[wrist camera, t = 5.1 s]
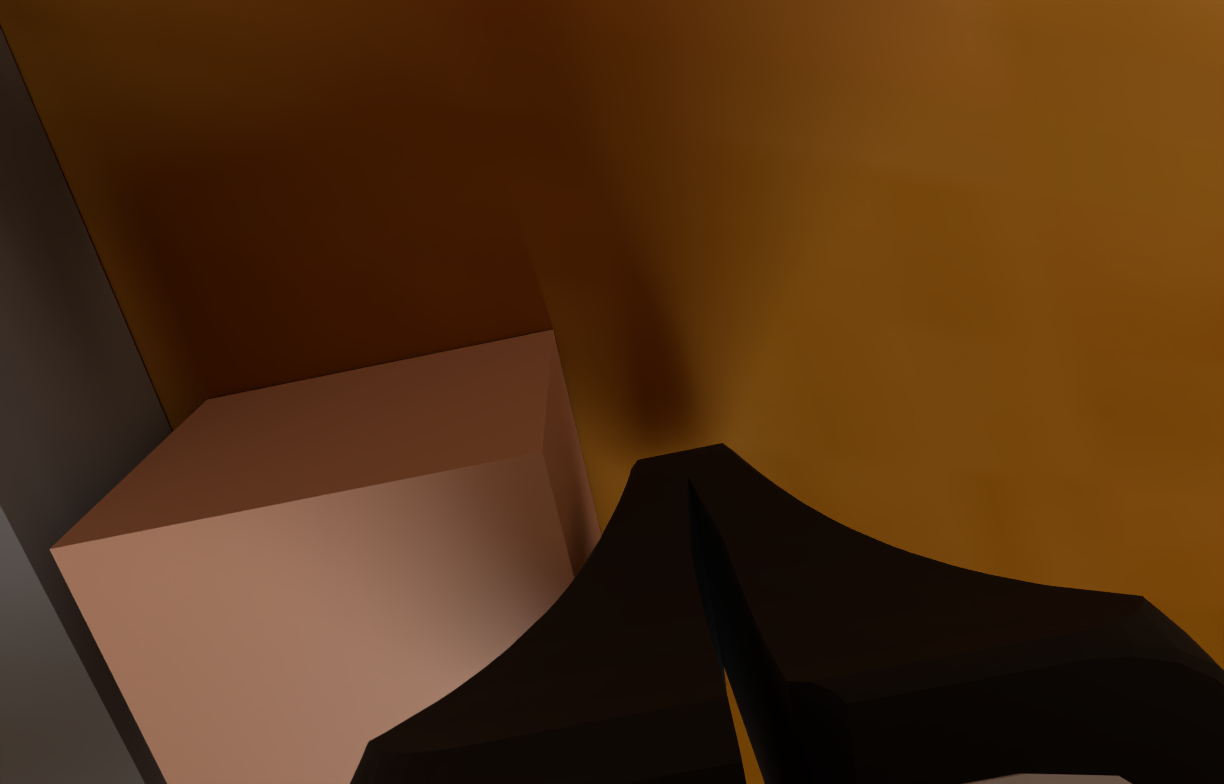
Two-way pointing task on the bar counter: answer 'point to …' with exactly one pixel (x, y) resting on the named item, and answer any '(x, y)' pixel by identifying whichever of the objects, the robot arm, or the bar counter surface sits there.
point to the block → (333, 557)
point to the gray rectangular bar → (58, 465)
